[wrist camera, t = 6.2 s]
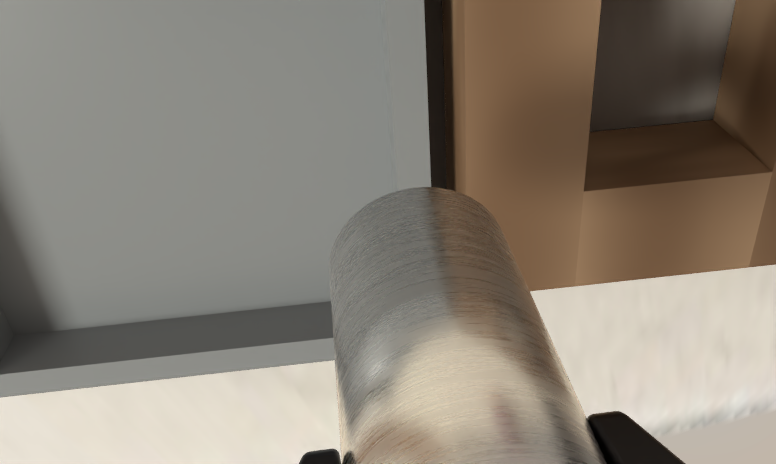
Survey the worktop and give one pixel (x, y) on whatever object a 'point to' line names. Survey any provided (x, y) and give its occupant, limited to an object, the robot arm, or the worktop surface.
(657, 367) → the worktop surface
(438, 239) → the pin
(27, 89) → the tray
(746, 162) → the block
